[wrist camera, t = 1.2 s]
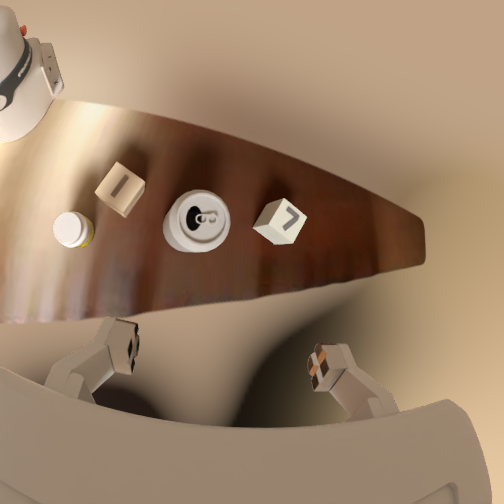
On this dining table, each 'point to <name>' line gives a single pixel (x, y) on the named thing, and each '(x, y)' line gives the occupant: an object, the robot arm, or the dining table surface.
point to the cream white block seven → (280, 222)
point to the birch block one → (120, 189)
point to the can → (197, 222)
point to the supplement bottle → (73, 229)
